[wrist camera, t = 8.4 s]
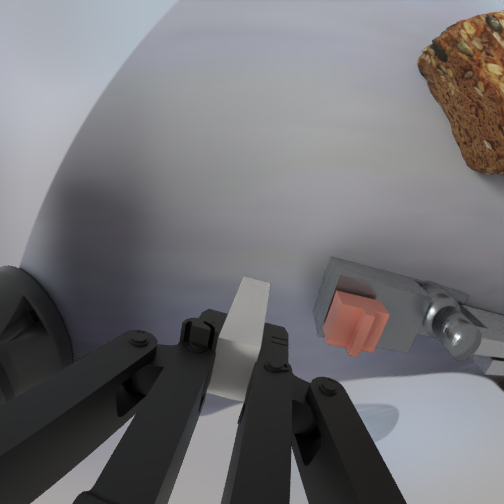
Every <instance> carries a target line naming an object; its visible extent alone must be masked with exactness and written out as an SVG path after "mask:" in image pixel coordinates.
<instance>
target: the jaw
mask: <svg viewBox="0 0 504 504" xmlns="http://www.w3.org/2000/svg"><path fill="white" fill-rule="evenodd" d="M460 309H461V312H460V311H459V310H458V309H456V308H455V307H454V306H446V307H443V308H442V309H440V310H439V311H438V312H437V313H436V315H435V316H434V318H433V321H432V331H433V333H434V334H435V335H436V336H437V337H438V339H439V340H440V341H441V342H442V344H443V345H444V346H445V347H446V349H447V350H448V351H449V352H450V354H451V355H452V356H453V357H454V359H456V360H459V361H461V360H465V359H467V358H469V357H470V356H472V355H473V354H476V355H484V356H491V357H499V358H504V316H503V315H499V314H495V313H491V312H487V311H484V310H480V309H476V308H472V307H468V306H465V305H461V307H460Z"/></svg>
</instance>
